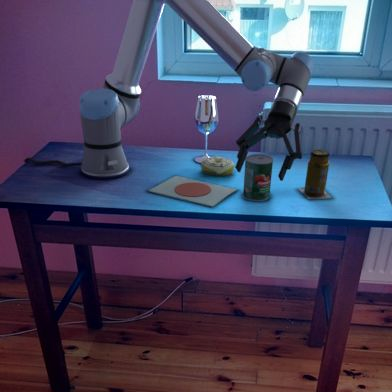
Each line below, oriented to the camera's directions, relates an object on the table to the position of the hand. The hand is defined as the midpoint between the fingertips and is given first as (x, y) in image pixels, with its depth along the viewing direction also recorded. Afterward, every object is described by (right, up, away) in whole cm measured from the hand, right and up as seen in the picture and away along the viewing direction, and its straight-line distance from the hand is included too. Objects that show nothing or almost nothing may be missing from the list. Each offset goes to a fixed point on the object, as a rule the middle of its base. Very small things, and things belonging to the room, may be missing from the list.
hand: (258, 174), depth 153 cm
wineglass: (-15, +14, +29) cm, 36 cm away
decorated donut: (-11, +7, +20) cm, 24 cm away
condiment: (+17, -4, +6) cm, 19 cm away
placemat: (-19, -3, +7) cm, 20 cm away
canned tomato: (0, -5, +4) cm, 7 cm away
